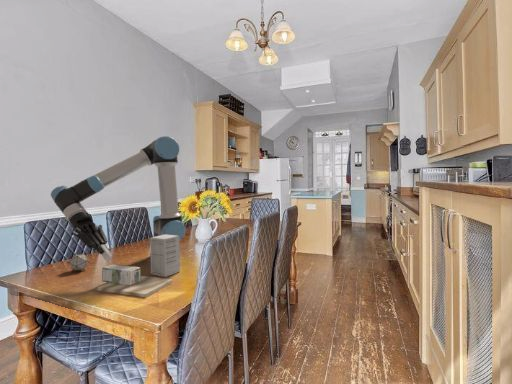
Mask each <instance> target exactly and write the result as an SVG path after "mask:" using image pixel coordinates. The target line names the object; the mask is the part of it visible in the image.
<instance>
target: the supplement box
mask: <svg viewBox="0 0 512 384" xmlns="http://www.w3.org/2000/svg"><path fill="white" fill-rule="evenodd" d="M149 241H150V242H149V244H150V246H149V247H150V248H149V249H150V252H151V257H150V275H152V276H153V275H154V276H157V277H161V278H168V277H169V276H172V275H174V274H177V272H178V273H180V272H181V263H180V262H181V257H180V255H181V254H180V251H181V250H180V243H181V242H180V241H179V236H176V235H166V234H165V235H160V236H155V237H153V236H151V237H150V238H149Z"/></svg>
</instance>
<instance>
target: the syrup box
mask: <svg viewBox="0 0 512 384" xmlns="http://www.w3.org/2000/svg"><path fill="white" fill-rule="evenodd" d="M101 271H102V273H101V274H102V275H101V276H102V277H101V281H102V282H103V283H104V282H105V283H109V282H110V283H116V284H123V285H132V284H135V283H137V282H139V281H140V276H141V267H140V266H139V267H138V266H134V265H132V266H131V265H124V264H123V265H122V264H114V263H113V264H110V265H107V266H103V267H102V270H101Z"/></svg>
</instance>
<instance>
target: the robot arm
mask: <svg viewBox="0 0 512 384" xmlns="http://www.w3.org/2000/svg"><path fill="white" fill-rule="evenodd" d="M179 153H180V146H179V143H178V141H177V140H176V139H175V138H173V137H171V136H170V135H169V136H166V135H165V136H160V137H158V138H156V139H155V140H153V141H151V143H149V144H148V145H146V146H145V147H143V148H141V149H140V151H139V152H138V153H135V154H133V155H132V156H130V157H128V158H126V159H124V160H122V161H120V162H118V163H116V164H114V165H112V166H110V167H107V168H106V169H104V170H102V171H100V172H98V173H95V174H94V175H91V176H89V177H86V178H85V179H83V180H81V181H80V182H78V183H76V184H74V185H73V186H72V185H71V186H67V185H61V186H57V187H54V188H53V189H52V191H51V192H50V197H51V198H52V201H53V202H54V203H55V205H56V206H57V207H58V209H59V210H60V211H61V213H62V214H63V215H64V217H65V218H66V220H67V221H68V222H69V224H70V225H71V227H73V228H74V230H73V231H72V232H71V234H72V235H73V236H75V237H77V238H78V239H79V240H80V241H81V242H82V243H83V244H84V245H85V246H87V247H88V248H89V249H90V250H91V249H92V250H93V251H97V252H98V255H99V254H100V255H101V256H102V257H103V259H104V261H105V262H108V261H110V260H111V259H112V257H113V254H112V252H110V249H109V248H108V246H107V243H108V241H109V240H108V238H107V236H106V234H105V232H104V230H103V225H102V224H99V225H98V224H96V223H95V222H94V221H92V220H93V219H92V216H91V215H90V213H88V211H87V210H86V208H85V207H84V206H83V205H82V203H81V202H83V201H85V200H86V199H88V198H90V197H92V196H94V195H95V194H97V193H99V192H101V191H103V190H104V189H105V188H106V187H108V186H110V185H112V184H114V183H115V182H117V181H119V180H121V179H124V178H125V177H127V176H129V175H130V174H133V173H135V172H137V171H139V170H140V169H143V168H144V167H146V166H152V165H155V167H157V175H158V187H159V188H158V190H159V198H160V199H159V201H160V211H161V212H160V213H161V214H159V215H155V216H153V220H152V225H153V226H152V227H153V229H152V230H153V235H152V237H155V236H160V235H165V234H166V235H176V236H179V242H180V241H181V240H182V239H183V238H184V237H185V234H186V232H187V231H186V229H187V228H186V226H185V224H184V222H183V215H182V214H181V212H179V211H180V210H179V201H178V200H179V199H178V187H177V178H176V165H178V164H179V163H178V155H179ZM149 256H150V258H151V251H150V252H149Z"/></svg>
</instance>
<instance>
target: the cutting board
mask: <svg viewBox="0 0 512 384" xmlns="http://www.w3.org/2000/svg"><path fill="white" fill-rule="evenodd" d="M172 283H173V279H170V278H164V277H153V276H144V275H140V281H139V282H137V283H135V284H132V285H123V284H116V283H110V282H106V283H105V284H103V285H100V286H97V292H98V291H99V292H106V293H113V294H121V295H124V296H134V297H138V298H139V297H140V298H144V299H145V298H148V297H150V296H151V295H153V294H155V293H157V292H158V291H160V290H162V289H164V288H165V287H167V286H169V285H170V284H172Z"/></svg>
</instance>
